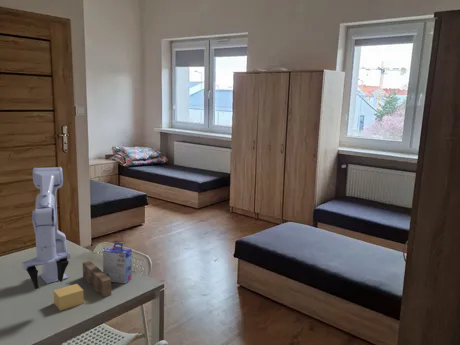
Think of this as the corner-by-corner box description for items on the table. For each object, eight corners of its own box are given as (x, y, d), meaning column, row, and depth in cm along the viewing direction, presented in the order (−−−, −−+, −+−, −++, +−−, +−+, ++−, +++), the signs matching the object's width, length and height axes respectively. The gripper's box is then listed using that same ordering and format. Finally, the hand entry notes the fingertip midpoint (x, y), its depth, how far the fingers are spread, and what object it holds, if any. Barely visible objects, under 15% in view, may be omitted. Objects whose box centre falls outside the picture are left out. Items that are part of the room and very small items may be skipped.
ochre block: (54, 303, 139) (53, 290, 138) (77, 296, 144) (76, 283, 143) (60, 311, 134) (59, 297, 133) (83, 303, 139) (83, 290, 138)
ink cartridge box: (132, 277, 159) (132, 243, 156) (126, 284, 154) (125, 248, 151) (109, 275, 161) (108, 240, 158) (102, 281, 156) (101, 245, 153)
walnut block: (83, 277, 159) (82, 262, 158) (90, 275, 161) (90, 260, 159) (103, 297, 144) (102, 281, 142) (111, 294, 145) (111, 279, 144)
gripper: (25, 253, 122) (28, 295, 124) (73, 242, 132) (75, 281, 134) (18, 247, 127) (21, 287, 129) (65, 237, 137) (66, 274, 139)
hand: (48, 284), depth 132 cm, fingers open, 7 cm apart
